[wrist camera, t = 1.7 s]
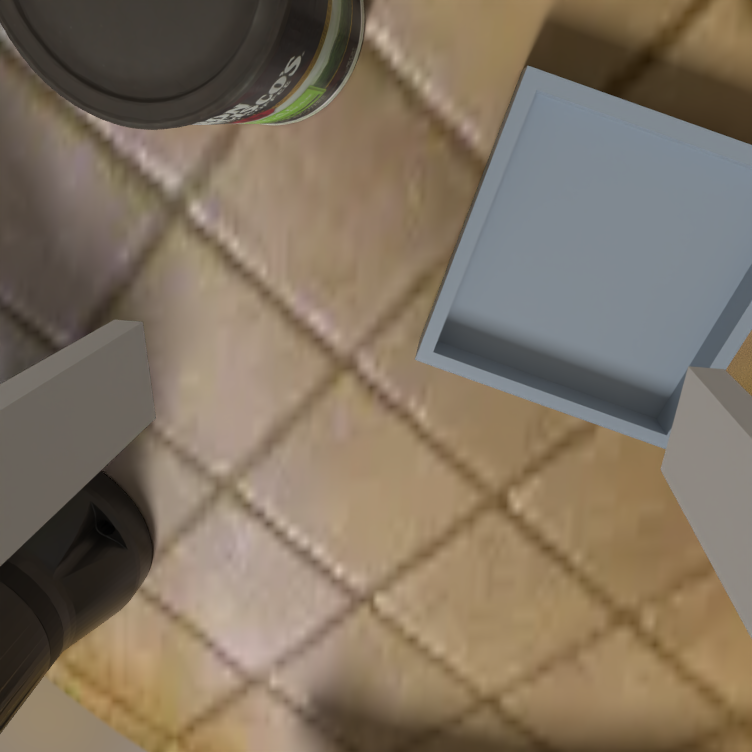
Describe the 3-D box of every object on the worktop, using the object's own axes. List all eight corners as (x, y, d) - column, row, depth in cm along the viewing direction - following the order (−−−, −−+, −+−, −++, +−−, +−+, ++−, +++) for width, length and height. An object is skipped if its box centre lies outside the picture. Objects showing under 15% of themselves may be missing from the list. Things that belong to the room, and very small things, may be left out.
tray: (419, 341, 36) (414, 359, 34) (522, 70, 30) (527, 65, 27) (657, 426, 36) (672, 451, 34) (813, 173, 30) (848, 179, 27)
